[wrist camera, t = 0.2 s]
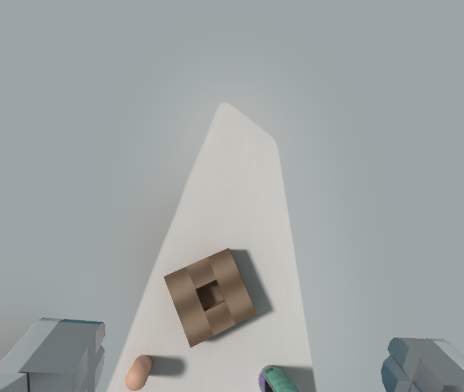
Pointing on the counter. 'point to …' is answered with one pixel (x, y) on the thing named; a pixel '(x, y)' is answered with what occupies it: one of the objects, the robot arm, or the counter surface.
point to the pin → (139, 373)
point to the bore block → (209, 296)
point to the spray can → (274, 380)
